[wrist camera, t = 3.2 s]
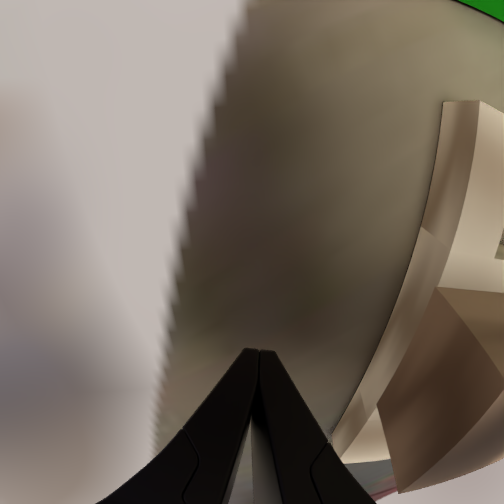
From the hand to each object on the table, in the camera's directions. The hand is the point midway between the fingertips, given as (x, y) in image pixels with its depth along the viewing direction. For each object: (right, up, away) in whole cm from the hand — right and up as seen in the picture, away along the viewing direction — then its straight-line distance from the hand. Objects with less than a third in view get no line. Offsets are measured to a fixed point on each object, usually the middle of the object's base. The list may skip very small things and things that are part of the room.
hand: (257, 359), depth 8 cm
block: (+7, -1, 0) cm, 7 cm away
